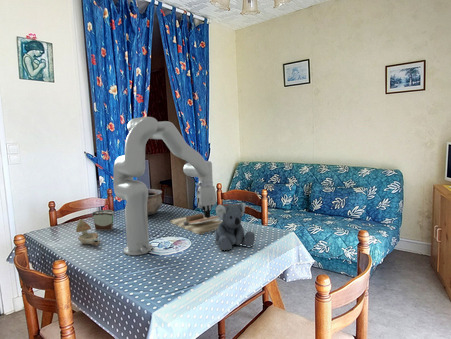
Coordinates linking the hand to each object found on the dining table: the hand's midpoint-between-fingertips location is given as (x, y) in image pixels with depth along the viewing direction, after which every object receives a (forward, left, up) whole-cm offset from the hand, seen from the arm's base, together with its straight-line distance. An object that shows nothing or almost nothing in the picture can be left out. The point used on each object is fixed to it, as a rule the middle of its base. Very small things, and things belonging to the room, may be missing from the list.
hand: (207, 217), depth 171 cm
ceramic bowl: (+50, +13, -6) cm, 52 cm away
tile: (+3, 0, -1) cm, 3 cm away
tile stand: (+8, 0, -6) cm, 10 cm away
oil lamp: (+20, +56, -6) cm, 60 cm away
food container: (+38, +42, -6) cm, 57 cm away
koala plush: (-28, +6, -6) cm, 29 cm away
